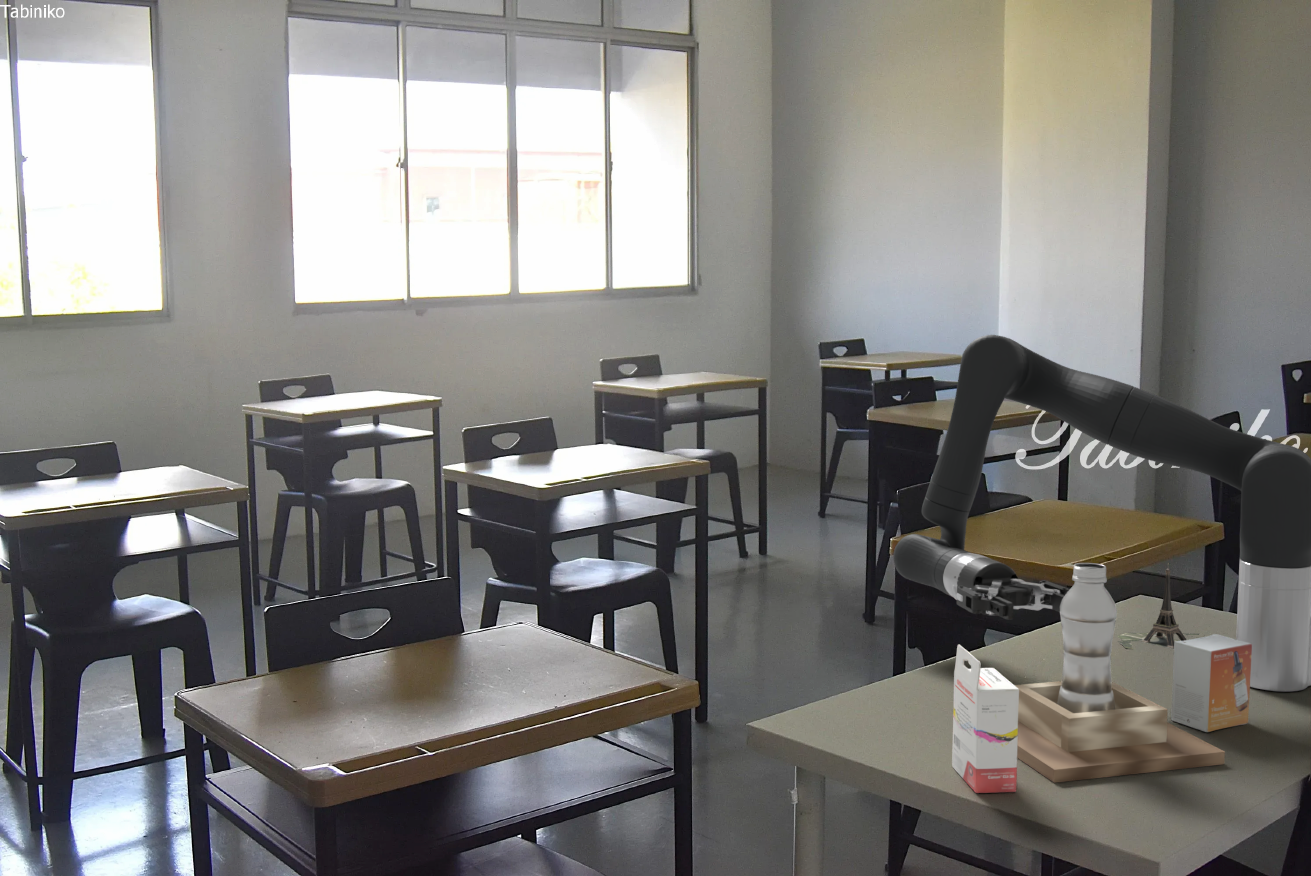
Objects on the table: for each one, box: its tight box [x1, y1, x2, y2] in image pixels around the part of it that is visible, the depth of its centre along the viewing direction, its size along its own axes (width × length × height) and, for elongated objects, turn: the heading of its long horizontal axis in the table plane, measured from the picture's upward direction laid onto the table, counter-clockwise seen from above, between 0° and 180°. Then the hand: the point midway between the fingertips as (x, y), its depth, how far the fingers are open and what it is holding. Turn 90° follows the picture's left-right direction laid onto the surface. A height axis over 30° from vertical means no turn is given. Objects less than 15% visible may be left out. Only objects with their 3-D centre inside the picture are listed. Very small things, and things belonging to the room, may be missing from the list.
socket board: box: [1014, 680, 1226, 783], centre depth 153 cm, size 22×22×6 cm
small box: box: [1170, 633, 1252, 733], centre depth 159 cm, size 8×6×10 cm
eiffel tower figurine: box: [1117, 561, 1200, 650], centre depth 197 cm, size 15×10×13 cm
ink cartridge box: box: [951, 644, 1019, 794], centre depth 141 cm, size 9×5×15 cm, turn 5°
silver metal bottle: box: [1057, 562, 1118, 713], centre depth 152 cm, size 6×7×20 cm
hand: (1041, 609), depth 163 cm, fingers open, 8 cm apart
